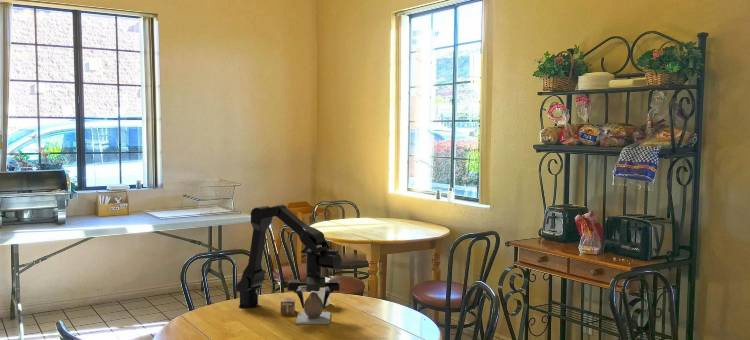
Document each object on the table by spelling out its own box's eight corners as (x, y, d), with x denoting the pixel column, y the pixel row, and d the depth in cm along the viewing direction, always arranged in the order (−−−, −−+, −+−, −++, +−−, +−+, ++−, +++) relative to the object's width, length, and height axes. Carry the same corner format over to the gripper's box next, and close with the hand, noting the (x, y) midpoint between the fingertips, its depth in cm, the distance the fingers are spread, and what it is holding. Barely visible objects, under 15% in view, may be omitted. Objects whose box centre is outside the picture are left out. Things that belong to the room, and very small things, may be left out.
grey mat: (296, 324, 223) (296, 322, 223) (298, 313, 235) (298, 312, 235) (329, 323, 224) (329, 322, 223) (330, 313, 235) (330, 312, 235)
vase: (324, 313, 232) (324, 290, 231) (321, 319, 225) (321, 295, 225) (306, 313, 233) (306, 290, 232) (302, 318, 226) (302, 295, 225)
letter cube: (280, 314, 234) (280, 301, 233) (281, 310, 239) (281, 297, 238) (294, 314, 234) (294, 301, 234) (295, 310, 239) (295, 297, 239)
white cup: (321, 308, 242) (321, 283, 241) (306, 304, 246) (306, 279, 246) (334, 304, 248) (334, 279, 247) (319, 300, 253) (320, 276, 252)
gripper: (286, 271, 219) (285, 315, 220) (339, 271, 220) (339, 315, 221) (288, 264, 230) (288, 305, 231) (339, 264, 231) (339, 305, 232)
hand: (313, 308), depth 229 cm, fingers open, 7 cm apart
